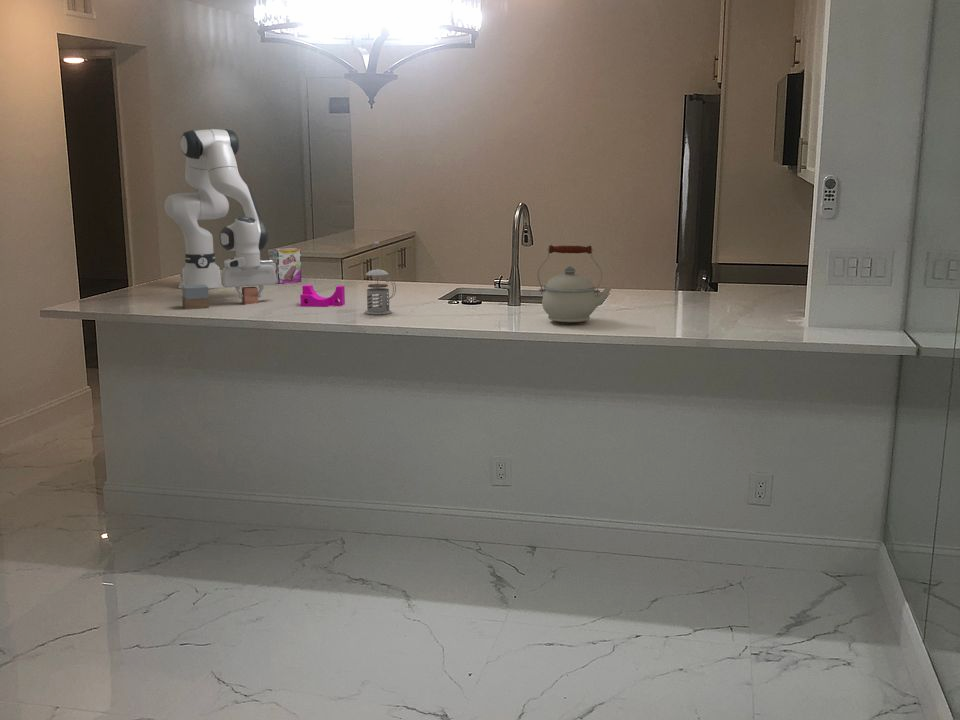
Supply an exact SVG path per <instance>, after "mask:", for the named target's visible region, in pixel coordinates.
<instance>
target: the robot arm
mask: <svg viewBox="0 0 960 720" xmlns="http://www.w3.org/2000/svg"><path fill="white" fill-rule="evenodd" d="M180 147H181V152H182V154H183V155H185V168H184V169H185V171H184V174H185V175H184V179H185V182H186V183H187V184H188V186H190V187H192V188H194V189H197V190H198V192H178V193H174V194H169V195H168V196H167V197H166V198H165V201H164V205H163V206H164V210H165V211H164V212H165V213H166V215H167V216H168V218H170V219H171V220H173V221H174V222H175V224H177V225H178V227H179V228H180V229H181V232H182V233H183V237H184V243H185V244H184V245H185V246H184V247H185V253H184V254H185V255H184V262H185V265H184V267H182V270H181V271H180V272H179V278H181V281H180V283H179V284H178V289H179V290H180V289H181V290H182V286H187V285H206V286H207V287H208V290H209V289H218V288H220V287H224V288H233V287H234V288H235V291H236V292H237V294H238V298H239V299H241V300H242V298H244V294H243V293H242V291H240V290H241V287H256V286H258V289H259V290H258V298H262V293H263V290H264V287H265V286H271V285H272V286H273V285H277V284H276V282H277V279H276V273H275V271H276V263H275V262H273V259H269V260H261V251H262V250H263V249H264V248H265V247H266V246H267V244H268V242H269V233H268V231H267V229H266V227H265V225H264V223H263V221H262V217H261V215H260V211H259V208H258V205H257V203H256V202H257V201H256V199H255V197H254V195H253V191H252V189H251V187H250V186H249V184H247V183H246V182H245V181H244V180H243V178H242V177H241V174H240V173H239V169H238V163H237V159H236V155H237V153H238V152H239V149H240V142H239V137H238V134H236V132H235V131H233V130H231V129H228V128H227V129H226V128H225V129H220V128H219V129H218V128H208V129H198V130H193V129H192V130H187V131H184V132H183V133H182V134H181V137H180ZM227 197H229V198H232V199H234V200H235V201H237V202H238V203H239V204H240V206H241V207H242V210H243V212H244V216H239V217H237V218H235V220H234V222H233V223H231V224H230V225H227V226H224V227H223V228H222V229H221V230H220V233H219V243H220V246H222V248H223V249H224V250H226V251H229V252H235V256H233V257H231V258H227V259H224V260H223V265H224V267H223V268H222V270H221V271H220V266H219V265H217V264H216V254H215V252H214V249H215V248H214V238H213V237H214V236H213V234H212V233H211V232H210V231H209V230H208V229H206V228H204V227H201V226H200V225H199V223H198V221H199V220H200V221H201V220H217V219H222V218H225V217H226V216H227V214H228V213H229V209H230V202H229V200H228V198H227Z"/></svg>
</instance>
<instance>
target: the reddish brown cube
mask: <svg viewBox="0 0 960 720" xmlns="http://www.w3.org/2000/svg"><path fill="white" fill-rule="evenodd" d="M258 289H259V287H256V286H241V293H243V294H244V298H241V303H242V304H243V303H244V305H245V306H246V305H253V304H254V305H255V303H256V304H259V297H258V291H259V290H258Z"/></svg>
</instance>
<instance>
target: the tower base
mask: <svg viewBox="0 0 960 720" xmlns="http://www.w3.org/2000/svg"><path fill="white" fill-rule="evenodd" d="M181 297H182V298H181V299H182V307H183V308H184V309H185V310H197V309H202V310H203V309H209V307H210V306H209V304H210V303H209V298H200V299H185V298H184V297H183V295H182V296H181Z"/></svg>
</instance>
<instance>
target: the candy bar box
mask: <svg viewBox="0 0 960 720" xmlns="http://www.w3.org/2000/svg"><path fill="white" fill-rule="evenodd" d="M301 251H302V250H301V248H296V247H290V248H273V249H272V261H273V262H275V263H276V271H275V273H276V279H277V282H276V284H275V285H278V284H281V285H286V284H285V283H290V284H298V283H302V254H301V253H302V252H301ZM273 262H272V263H273Z"/></svg>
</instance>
